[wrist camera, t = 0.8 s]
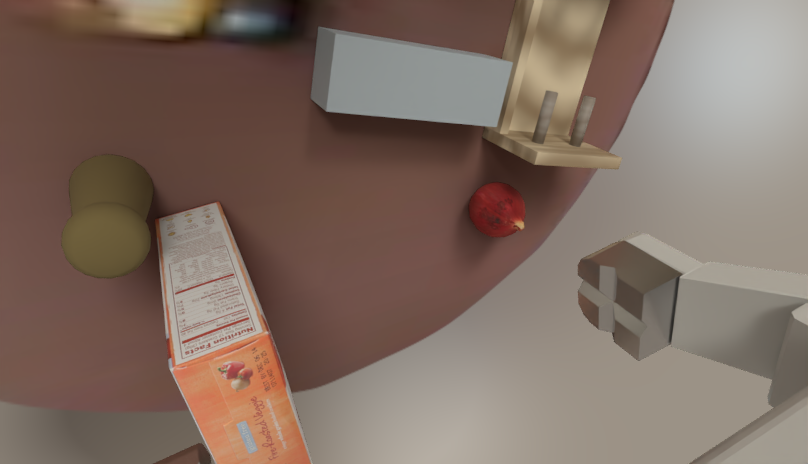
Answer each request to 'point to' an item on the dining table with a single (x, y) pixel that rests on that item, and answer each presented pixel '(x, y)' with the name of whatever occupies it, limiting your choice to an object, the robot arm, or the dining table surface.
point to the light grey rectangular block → (406, 79)
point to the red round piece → (497, 210)
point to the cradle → (550, 83)
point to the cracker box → (224, 344)
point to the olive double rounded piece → (108, 217)
